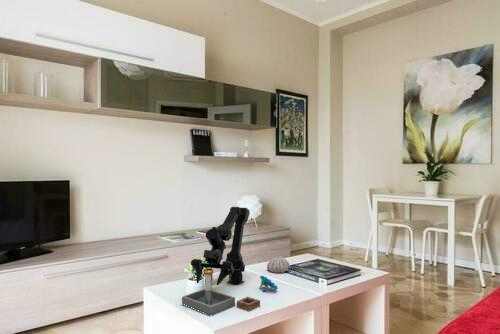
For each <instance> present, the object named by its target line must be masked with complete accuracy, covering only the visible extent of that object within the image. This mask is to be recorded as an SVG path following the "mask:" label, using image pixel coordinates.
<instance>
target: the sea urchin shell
mask: <svg viewBox="0 0 500 334" xmlns="http://www.w3.org/2000/svg"><path fill="white" fill-rule="evenodd" d="M288 268H291V264H290V263H289V261H288V260H287V259H286V258H284V257H282V256H279V255H278V256H274V257H273V258H271V259H270V260H269V261H268V262H267V265H266V269H267V270H268V271H269V272H270V273H277V274H280V273H282V274H283V273H286V272H285V271H287V269H288ZM287 272H288V271H287Z"/></svg>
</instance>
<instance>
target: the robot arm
mask: <svg viewBox="0 0 500 334" xmlns="http://www.w3.org/2000/svg"><path fill="white" fill-rule="evenodd" d="M250 214H251V213H250V209H248V207H240V206H232V207H230V208H229V212H228V214H227V215H226V218H225V219H224V221H223V223H222V224H219V225H218V226H213V227H212V228H211V229H209V230H207V231H206V232H205V238H206V240H207V241H208V243H209V245H210V246H211V248H210V250H209V249H204V251H203V258H204V259H205V262H203V260H202V259H200V258H192V260H191V263H190V265H191V266H192V269H193V270H195V274H196V279H195V280H196V284H199V283H200V280H201V277H202V276H203V273H204V268H207V269H219V270H220V271H219V275H218V277H217V281H216V286H219V285H220V284H221V283H222V282H223V281H224V279H225V278H226V277H227V276H228V280H227V281H226V283H227V284H231V285H234V286H235V285H236V286H237V285H239V284H240V285H241V284H242V283H243V284H244V282H245V281H244V280H243V273H244V272H245V270H246V269H245V268H246V264H245V263H244V261H243V256H242V253H241V250H242V249H241V248H242V243H243V235H244V227H245V224H246V223H247V221H248V220H249V217H250ZM233 227H234V228H233ZM232 229H233V232H232ZM231 239H232V244H231V249H230V251H229V252H227V253H226V258H225V260H224V261H222V260H223V258H224V257H223V256H224V252H225V249H227V246H226V245H227V244H226V243H225V242H229V241H230V240H231ZM221 262H222V263H221Z"/></svg>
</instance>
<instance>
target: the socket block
mask: <svg viewBox="0 0 500 334" xmlns="http://www.w3.org/2000/svg"><path fill="white" fill-rule="evenodd" d="M259 307H261V300H260V299H257V298H254V297H250V296H245V297H243V298H241V299H238V300H237V301H236V308H238V309H241V310H244V311H248V312H251V311H253V310H255V309H258V308H259Z"/></svg>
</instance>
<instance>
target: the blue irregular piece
mask: <svg viewBox="0 0 500 334" xmlns="http://www.w3.org/2000/svg"><path fill="white" fill-rule="evenodd" d="M259 278H260V285H259V288H258V289H260V290H261V289H262V287H263V286H264V287H263V289H262V292H263V293H265V290H267V288H268V287H270V288H271V289H274V290H278V288H279V287H278V286H277V285H276V283H275V282H272V280H271V279H270V278H268V277H267V276H264V275H263V274H262V275H260V276H259Z"/></svg>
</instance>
